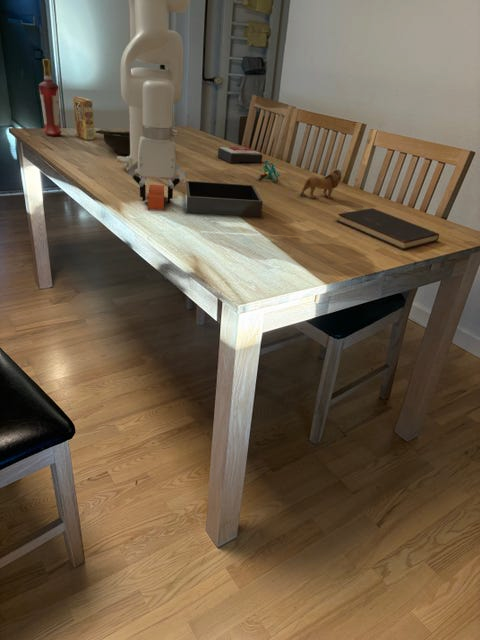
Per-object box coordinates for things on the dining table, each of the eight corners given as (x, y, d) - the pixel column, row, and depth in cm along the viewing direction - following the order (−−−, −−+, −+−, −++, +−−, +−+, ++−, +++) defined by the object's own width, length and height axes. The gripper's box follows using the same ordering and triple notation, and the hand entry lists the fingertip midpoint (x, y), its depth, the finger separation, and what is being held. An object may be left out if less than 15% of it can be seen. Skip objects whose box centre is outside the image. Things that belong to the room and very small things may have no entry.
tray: (186, 214, 128) (187, 196, 126) (184, 196, 142) (185, 180, 140) (260, 218, 132) (262, 201, 129) (252, 200, 146) (253, 185, 143)
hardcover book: (402, 250, 121) (405, 241, 120) (336, 221, 136) (338, 213, 135) (437, 241, 130) (440, 233, 129) (371, 215, 145) (373, 207, 144)
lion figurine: (331, 193, 162) (337, 167, 158) (340, 198, 158) (346, 171, 154) (295, 195, 156) (300, 167, 152) (304, 200, 152) (309, 171, 148)
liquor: (46, 132, 202) (38, 58, 188) (64, 134, 203) (58, 60, 189) (41, 135, 195) (33, 59, 181) (60, 137, 197) (53, 61, 182)
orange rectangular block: (148, 209, 128) (148, 196, 127) (149, 196, 139) (149, 184, 137) (163, 210, 129) (163, 197, 127) (163, 197, 139) (164, 185, 137)
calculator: (263, 153, 192) (231, 151, 185) (261, 164, 194) (230, 163, 187) (249, 147, 200) (218, 145, 192) (247, 157, 202) (217, 156, 194)
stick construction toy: (284, 177, 166) (272, 158, 163) (268, 189, 165) (256, 169, 163) (273, 178, 177) (262, 160, 174) (258, 189, 176) (247, 171, 174)
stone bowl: (130, 160, 173) (128, 133, 169) (82, 152, 185) (79, 127, 180) (173, 151, 192) (172, 127, 187) (127, 144, 203) (125, 121, 199)
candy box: (95, 139, 200) (93, 100, 192) (85, 140, 197) (83, 100, 190) (84, 135, 205) (82, 96, 197) (75, 135, 202) (72, 96, 195)
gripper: (189, 133, 129) (186, 198, 138) (124, 128, 126) (126, 194, 136) (190, 138, 123) (187, 206, 132) (122, 133, 120) (123, 202, 129)
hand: (156, 199), depth 134 cm, fingers open, 6 cm apart
